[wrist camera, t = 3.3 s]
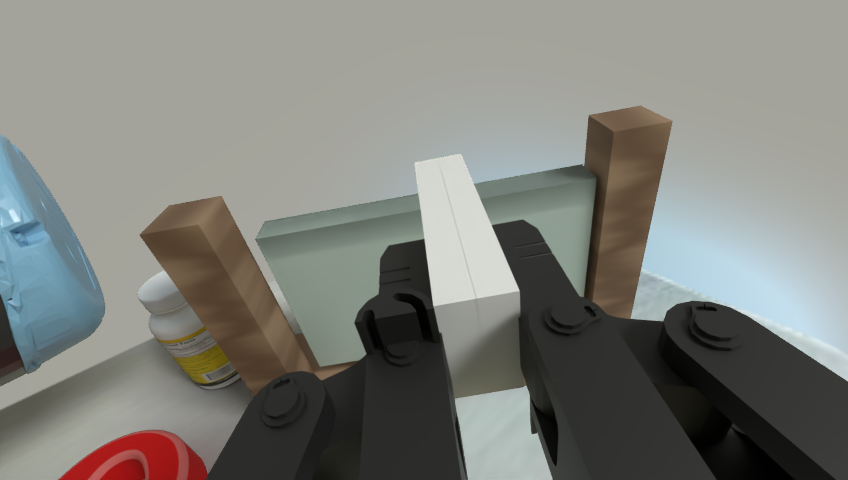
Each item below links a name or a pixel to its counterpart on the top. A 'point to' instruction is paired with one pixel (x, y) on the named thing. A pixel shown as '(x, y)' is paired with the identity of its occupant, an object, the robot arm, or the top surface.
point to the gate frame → (285, 352)
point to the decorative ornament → (141, 459)
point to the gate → (402, 222)
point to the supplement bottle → (185, 334)
